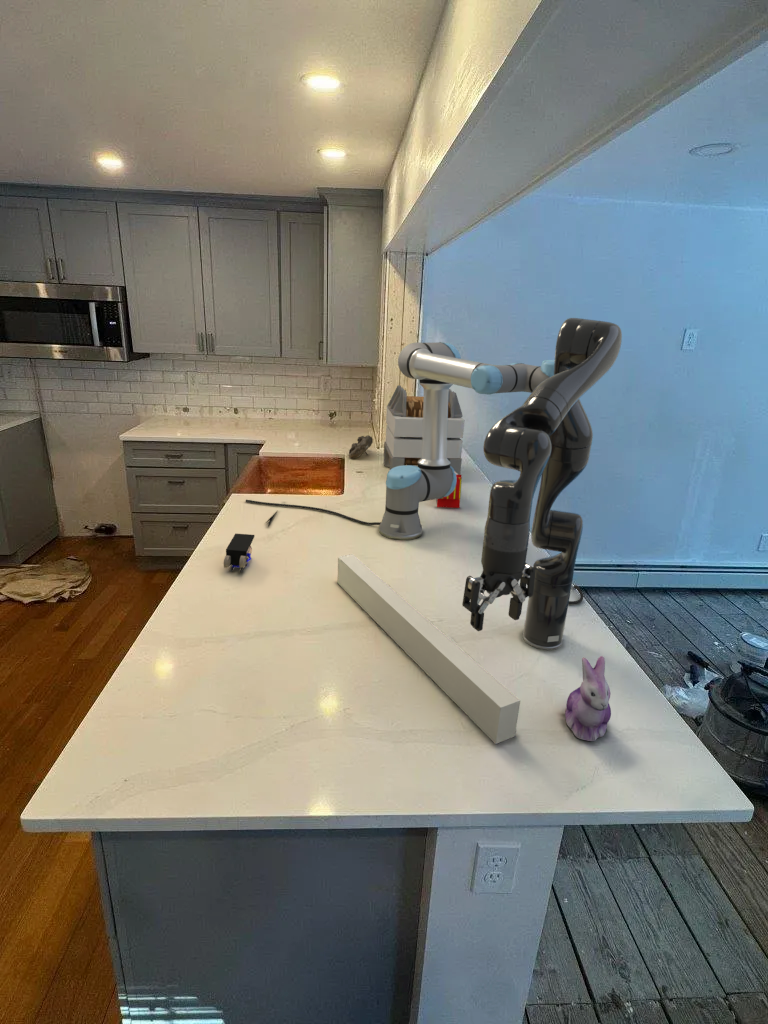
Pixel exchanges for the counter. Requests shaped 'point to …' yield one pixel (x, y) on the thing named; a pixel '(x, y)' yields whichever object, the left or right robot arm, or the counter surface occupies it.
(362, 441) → the fossil
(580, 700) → the figurine
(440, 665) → the post
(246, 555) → the black wheeled rover
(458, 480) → the red striped box
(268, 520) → the feather
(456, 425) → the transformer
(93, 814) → the counter surface
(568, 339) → the right robot arm
